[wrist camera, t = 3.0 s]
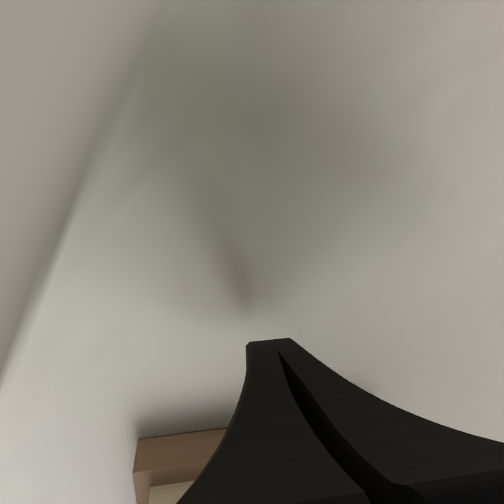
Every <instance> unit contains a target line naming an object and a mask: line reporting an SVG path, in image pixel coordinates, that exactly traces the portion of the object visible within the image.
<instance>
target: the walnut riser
mask: <svg viewBox="0 0 504 504" xmlns="http://www.w3.org/2000/svg"><path fill="white" fill-rule="evenodd" d="M226 430H227V428H224V429H216V430H208V431H201V432H193V433H185V434H178V435H170V436H162V437H154V438H147V439H139V440H138V443H137V449H136V455H135V461H134V468H133V479H134V486H135V493H136V500H137V504H148V503H149V493H150V487H154V486H161V485H168V484H175V483H182V482H188V481H195V480H196V478H197V477H198V476H199V474H200V473H201V472H202V470H203V469H204V467H205V466H206V464H207V463H208V461H209V460H210V458H211V457H212V455H213V453H214V452H215V450H216V449H217V447H218V445H219V444H220V442H221V440H222V438H223V436H224V434H225V432H226Z"/></svg>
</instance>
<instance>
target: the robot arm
mask: <svg viewBox="0 0 504 504" xmlns="http://www.w3.org/2000/svg"><path fill="white" fill-rule="evenodd" d="M246 369H247V370H246V376H245V381H244V385H243V388H242V392H241V395H240V399H239V402H238V405H237V407H236V410H235V413H234V415H233V417H232V420H231V422H230V424H229V426H228V428H227V430H226V432H225V434H224V436H223V438H222V440H221V442H220V444H219V445H218V447H217V449H216V450H215V452H214V453H213V455H212V457H211V458H210V460H209V461H208V463H207V464H206V466H205V467H204V469H203V470H202V472H201V473H200V474H199V476H198V477H197V478H196V480H195V481H194V482H193V483H192V485H191V486H190V487H189V488H188V490H187V491H186V492H185V493H184V494H183V496H182V497H181V498H180V499H179V500H178V502H177V503H176V504H504V443H502V442H498V441H494V440H490V439H487V438H483V437H479V436H475V435H471V434H468V433H465V432H462V431H459V430H456V429H452V428H449V427H446V426H443V425H440V424H438V423H435V422H432V421H429V420H427V419H424V418H422V417H419V416H417V415H414V414H412V413H410V412H407V411H405V410H402V409H400V408H398V407H396V406H394V405H391V404H389V403H387V402H385V401H383V400H381V399H380V398H378V397H376V396H374V395H372V394H370V393H368V392H366V391H364V390H363V389H361V388H359V387H358V386H356V385H354V384H353V383H351V382H350V381H348V380H346V379H345V378H343V377H342V376H340V375H339V374H337V373H336V372H334V371H333V370H331V369H330V368H329V367H327V366H326V365H324V364H323V363H322V362H320V361H319V360H318V359H316V358H315V357H314V356H312V355H311V354H310V353H309V352H307V351H306V350H305V349H303V348H302V347H301V346H300V345H298V344H297V343H296V342H295V341H293V340H292V339H290V338H284V339H274V340H264V341H254V342H249V343H248V344H247V345H246Z"/></svg>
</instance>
